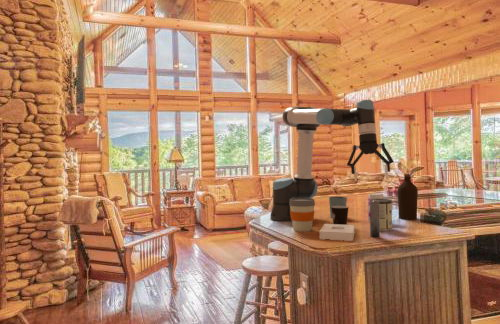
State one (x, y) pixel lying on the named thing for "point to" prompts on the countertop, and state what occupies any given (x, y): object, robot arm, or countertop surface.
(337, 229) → the block with square hole
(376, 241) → the countertop surface
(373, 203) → the steel pin
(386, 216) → the coffee can
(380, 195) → the supplement can
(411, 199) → the olive oil
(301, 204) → the reusable coffee cup
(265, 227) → the countertop surface
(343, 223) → the coffee mug
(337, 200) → the drinking glass
